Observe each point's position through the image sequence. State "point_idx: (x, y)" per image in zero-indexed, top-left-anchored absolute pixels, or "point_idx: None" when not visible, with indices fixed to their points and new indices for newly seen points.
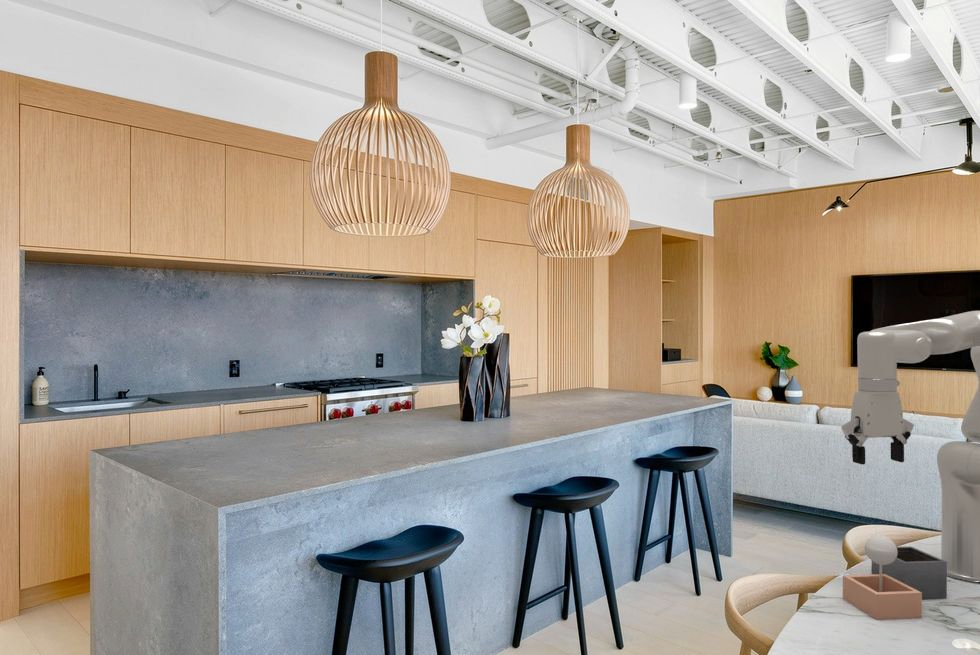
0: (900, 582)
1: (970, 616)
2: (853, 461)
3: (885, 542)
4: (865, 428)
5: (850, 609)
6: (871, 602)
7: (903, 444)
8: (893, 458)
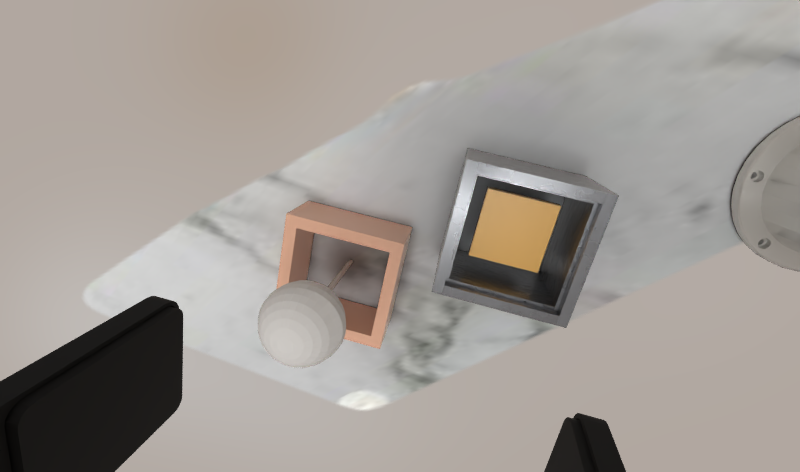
0: (388, 294)
1: (494, 353)
2: (157, 301)
3: (279, 362)
4: None
5: None
6: None
7: None
8: (558, 454)
